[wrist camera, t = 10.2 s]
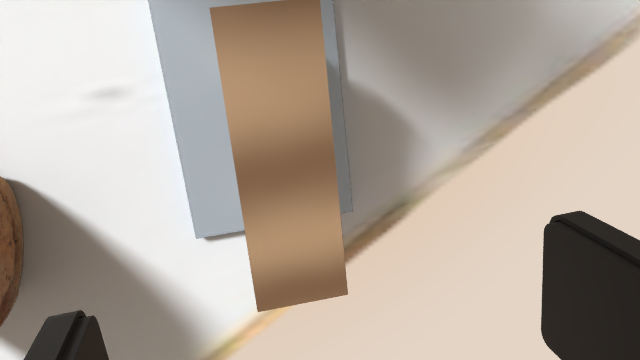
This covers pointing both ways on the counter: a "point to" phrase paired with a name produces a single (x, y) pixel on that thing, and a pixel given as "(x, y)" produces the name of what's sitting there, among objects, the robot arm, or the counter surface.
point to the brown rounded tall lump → (9, 249)
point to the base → (222, 110)
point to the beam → (282, 148)
